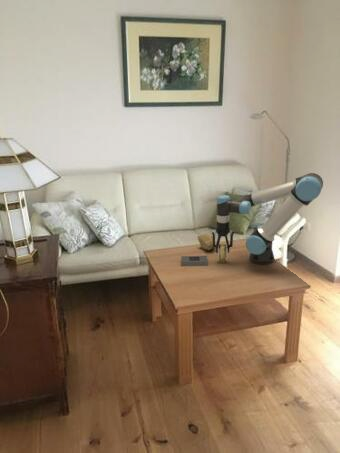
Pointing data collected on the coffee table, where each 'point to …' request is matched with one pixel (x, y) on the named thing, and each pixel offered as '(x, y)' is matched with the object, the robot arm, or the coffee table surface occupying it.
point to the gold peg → (222, 253)
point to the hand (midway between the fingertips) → (222, 257)
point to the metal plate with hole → (194, 260)
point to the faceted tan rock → (206, 241)
